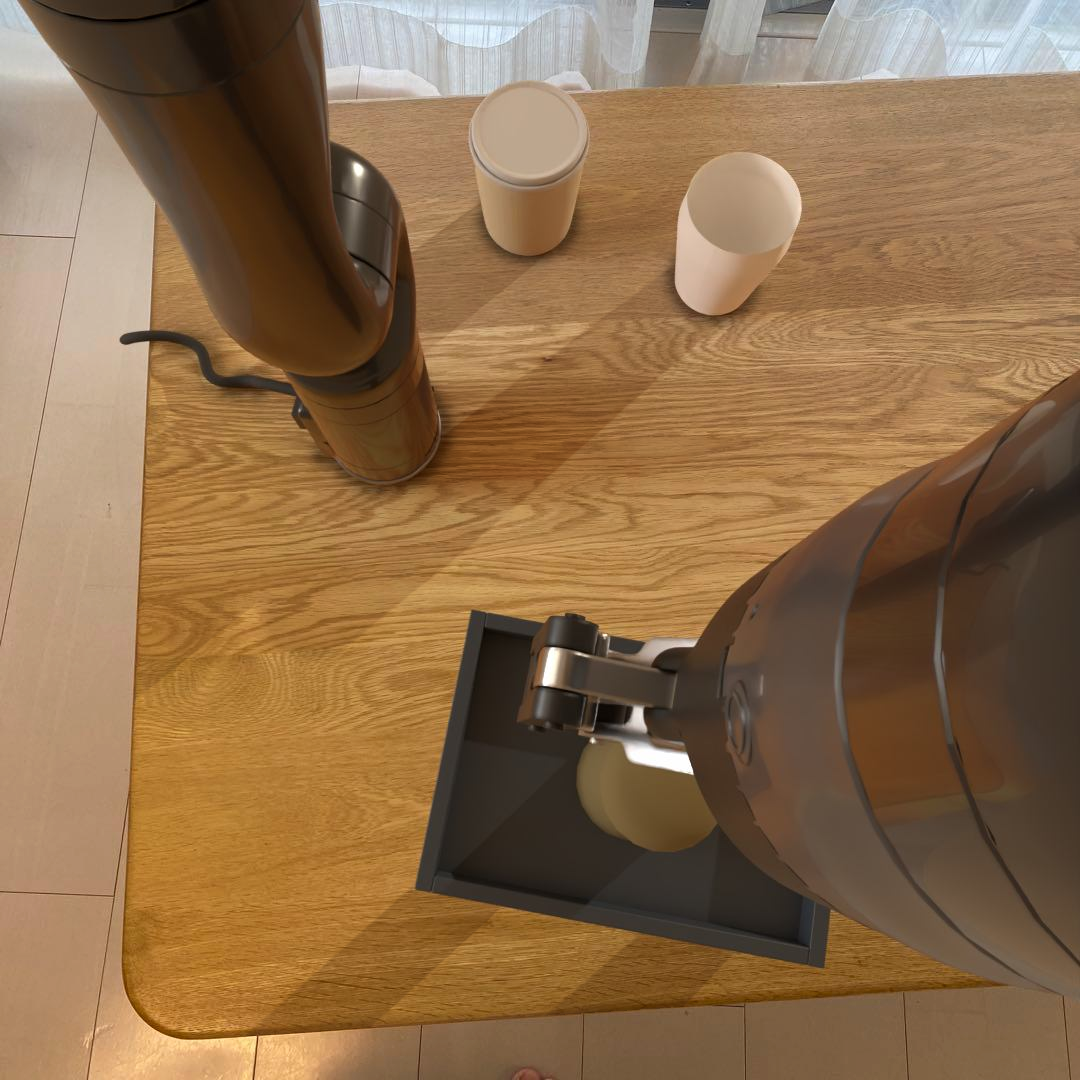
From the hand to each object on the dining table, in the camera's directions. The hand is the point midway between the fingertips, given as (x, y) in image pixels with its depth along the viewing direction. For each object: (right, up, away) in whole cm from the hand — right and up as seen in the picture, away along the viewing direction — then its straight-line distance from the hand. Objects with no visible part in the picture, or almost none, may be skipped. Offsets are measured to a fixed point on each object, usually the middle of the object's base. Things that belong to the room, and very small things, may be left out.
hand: (731, 733), depth 31 cm
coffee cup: (-7, +35, +52) cm, 63 cm away
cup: (+9, +29, +51) cm, 59 cm away
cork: (-2, -6, +16) cm, 17 cm away
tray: (-2, -11, +41) cm, 43 cm away
